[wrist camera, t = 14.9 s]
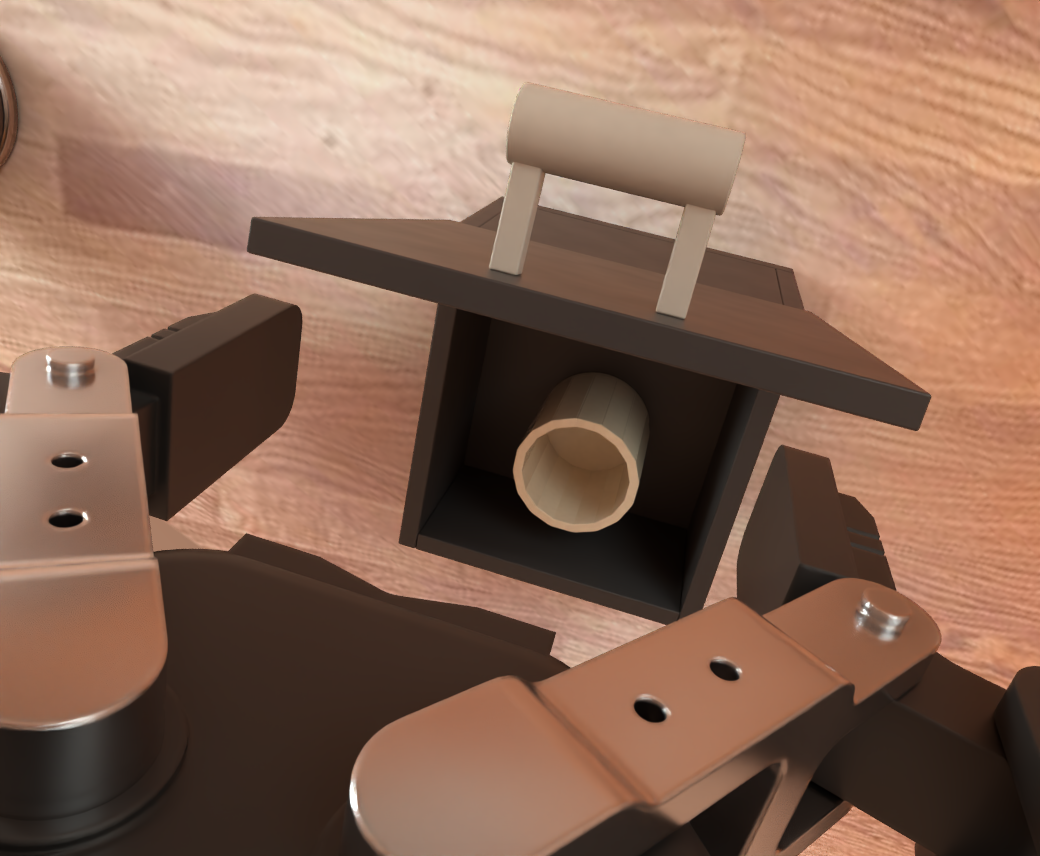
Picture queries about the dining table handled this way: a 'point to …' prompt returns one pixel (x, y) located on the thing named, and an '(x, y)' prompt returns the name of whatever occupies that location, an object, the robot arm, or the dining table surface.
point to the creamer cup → (583, 453)
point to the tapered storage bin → (515, 402)
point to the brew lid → (607, 261)
